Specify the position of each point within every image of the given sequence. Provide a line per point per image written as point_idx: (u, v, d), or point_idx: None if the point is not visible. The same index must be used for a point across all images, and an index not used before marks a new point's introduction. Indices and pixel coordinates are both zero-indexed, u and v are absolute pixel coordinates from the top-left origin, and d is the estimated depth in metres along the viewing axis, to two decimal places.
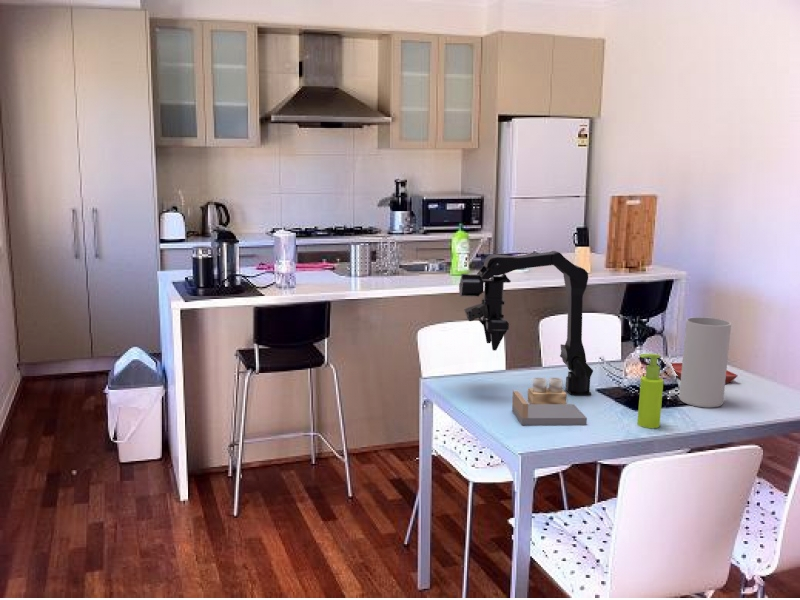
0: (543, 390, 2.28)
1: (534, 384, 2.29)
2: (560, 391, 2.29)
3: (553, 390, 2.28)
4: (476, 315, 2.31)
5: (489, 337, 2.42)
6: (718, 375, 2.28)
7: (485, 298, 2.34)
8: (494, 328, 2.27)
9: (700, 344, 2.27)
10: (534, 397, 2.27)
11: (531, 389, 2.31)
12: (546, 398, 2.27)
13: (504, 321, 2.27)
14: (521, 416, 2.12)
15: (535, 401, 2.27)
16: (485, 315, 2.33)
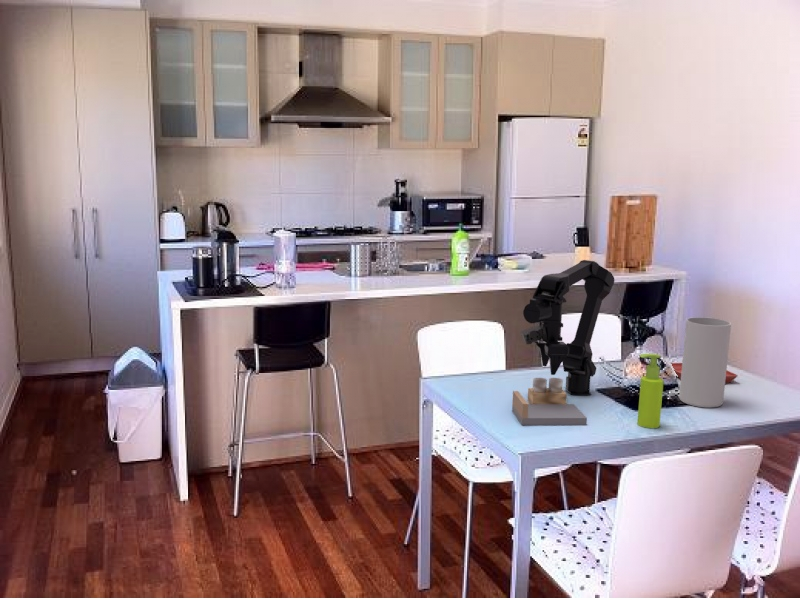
0: (543, 390, 2.28)
1: (534, 384, 2.29)
2: (560, 391, 2.29)
3: (553, 390, 2.28)
4: (534, 338, 2.22)
5: (545, 360, 2.33)
6: (718, 375, 2.28)
7: (543, 320, 2.25)
8: (554, 352, 2.18)
9: (700, 344, 2.27)
10: (534, 397, 2.27)
11: (531, 389, 2.31)
12: (546, 398, 2.27)
13: (565, 345, 2.19)
14: (521, 416, 2.12)
15: (535, 401, 2.27)
16: (543, 338, 2.24)
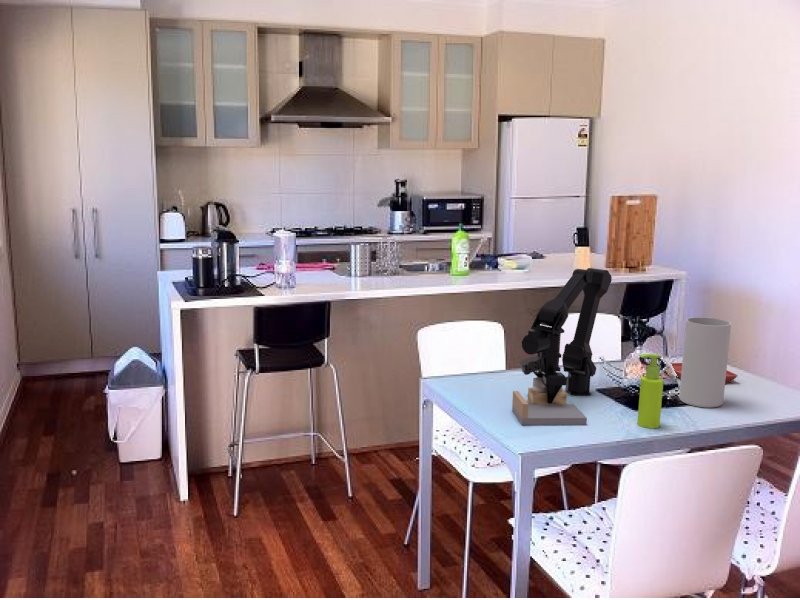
0: (543, 389, 2.28)
1: (534, 384, 2.29)
2: (560, 391, 2.29)
3: None
4: (533, 369, 2.24)
5: None
6: (718, 375, 2.28)
7: (541, 351, 2.27)
8: (552, 383, 2.20)
9: (700, 344, 2.27)
10: (534, 397, 2.27)
11: (531, 389, 2.31)
12: (546, 398, 2.27)
13: (563, 376, 2.20)
14: (521, 416, 2.12)
15: (535, 401, 2.27)
16: (542, 369, 2.26)
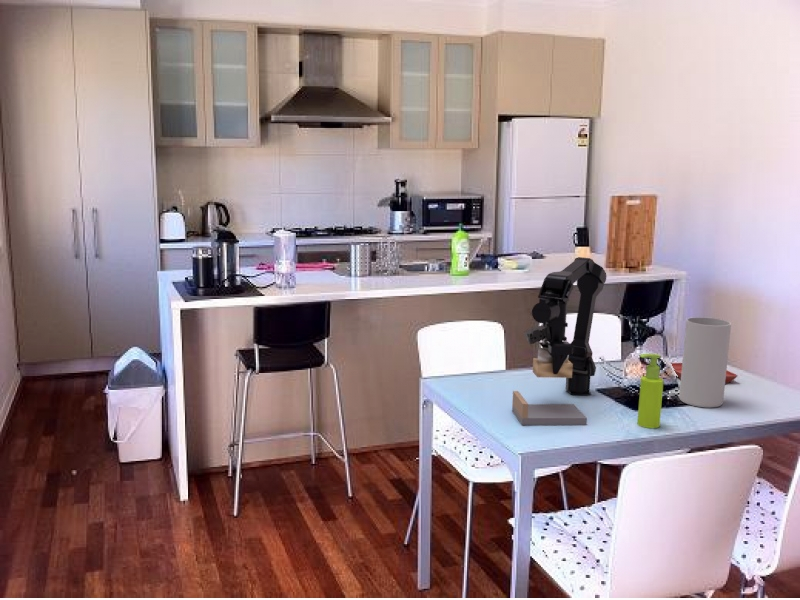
0: (548, 359, 2.21)
1: (539, 354, 2.22)
2: (566, 361, 2.22)
3: None
4: (538, 338, 2.17)
5: None
6: (718, 375, 2.28)
7: None
8: (558, 352, 2.13)
9: (700, 344, 2.27)
10: (539, 367, 2.20)
11: (536, 359, 2.25)
12: (551, 368, 2.20)
13: (569, 345, 2.13)
14: (521, 416, 2.12)
15: (540, 371, 2.20)
16: (547, 338, 2.19)
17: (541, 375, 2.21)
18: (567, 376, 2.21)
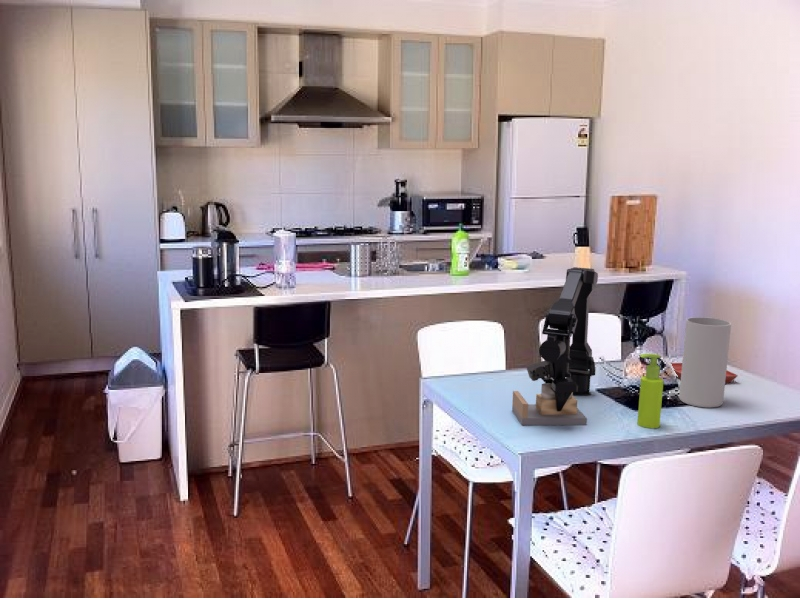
0: (552, 396, 2.15)
1: (543, 390, 2.15)
2: (570, 397, 2.15)
3: None
4: (541, 375, 2.11)
5: None
6: (718, 375, 2.28)
7: None
8: (562, 390, 2.07)
9: (700, 344, 2.27)
10: (543, 404, 2.14)
11: (539, 395, 2.18)
12: (555, 405, 2.14)
13: (573, 382, 2.07)
14: (521, 416, 2.12)
15: (543, 408, 2.14)
16: (550, 374, 2.12)
17: (545, 412, 2.14)
18: (571, 413, 2.15)
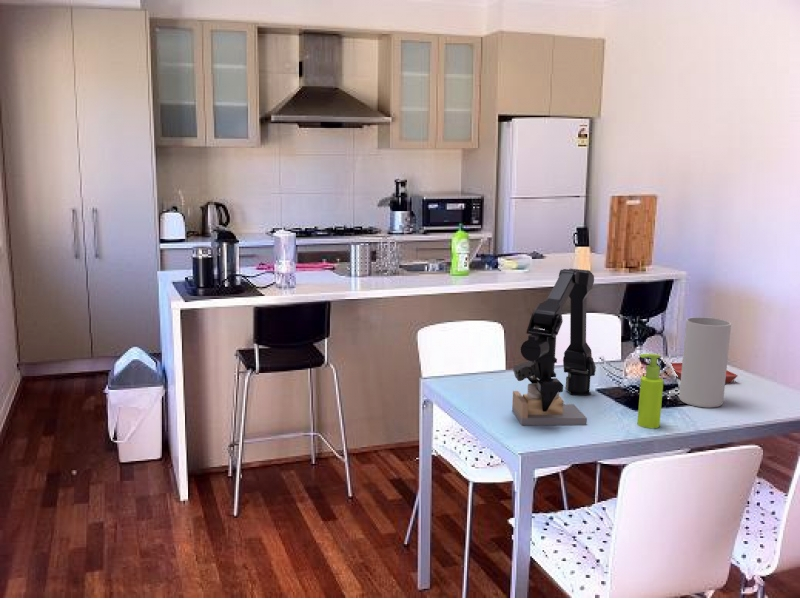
0: (538, 396, 2.14)
1: (529, 390, 2.15)
2: (556, 397, 2.15)
3: None
4: (526, 375, 2.10)
5: None
6: (718, 375, 2.28)
7: None
8: (547, 390, 2.06)
9: (700, 344, 2.27)
10: (529, 404, 2.13)
11: (526, 395, 2.18)
12: (541, 405, 2.14)
13: (558, 383, 2.07)
14: (521, 416, 2.12)
15: (529, 408, 2.14)
16: (536, 374, 2.12)
17: (531, 412, 2.14)
18: (558, 413, 2.15)
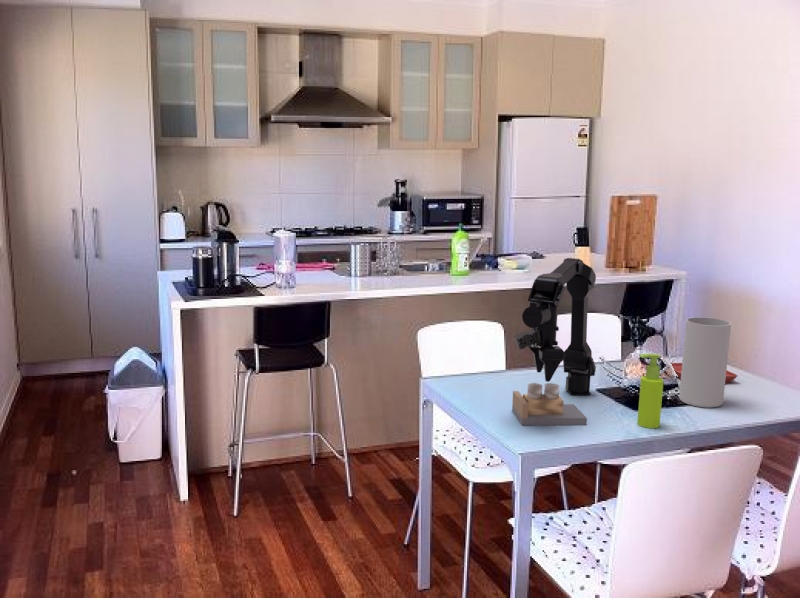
0: (538, 396, 2.14)
1: (529, 390, 2.15)
2: (556, 397, 2.15)
3: (549, 396, 2.15)
4: (528, 343, 2.09)
5: (540, 366, 2.20)
6: (718, 375, 2.28)
7: None
8: (549, 358, 2.05)
9: (700, 344, 2.27)
10: (529, 404, 2.13)
11: (526, 395, 2.18)
12: (541, 405, 2.14)
13: (560, 350, 2.05)
14: (521, 416, 2.12)
15: (529, 408, 2.14)
16: (537, 342, 2.11)
17: (531, 412, 2.14)
18: (558, 413, 2.15)
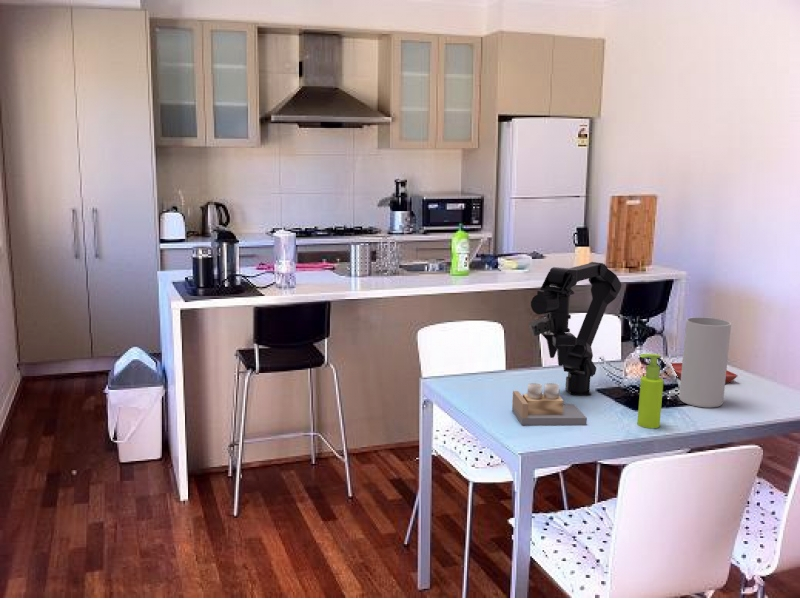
0: (538, 396, 2.14)
1: (529, 390, 2.15)
2: (556, 397, 2.15)
3: (549, 396, 2.15)
4: (542, 330, 2.25)
5: (553, 352, 2.36)
6: (718, 375, 2.28)
7: (551, 312, 2.28)
8: (562, 343, 2.21)
9: (700, 344, 2.27)
10: (529, 404, 2.13)
11: (526, 395, 2.18)
12: (541, 405, 2.14)
13: (572, 336, 2.21)
14: (521, 416, 2.12)
15: (529, 408, 2.14)
16: (551, 329, 2.27)
17: (531, 412, 2.14)
18: (558, 413, 2.15)
